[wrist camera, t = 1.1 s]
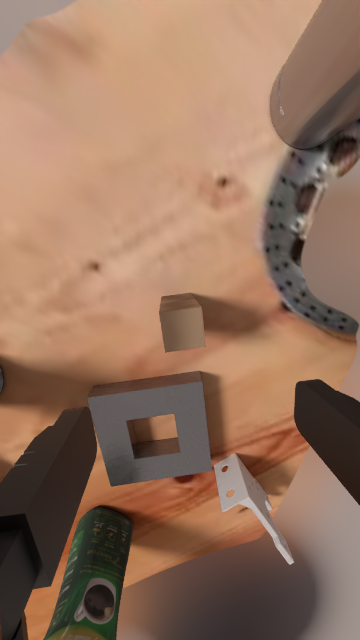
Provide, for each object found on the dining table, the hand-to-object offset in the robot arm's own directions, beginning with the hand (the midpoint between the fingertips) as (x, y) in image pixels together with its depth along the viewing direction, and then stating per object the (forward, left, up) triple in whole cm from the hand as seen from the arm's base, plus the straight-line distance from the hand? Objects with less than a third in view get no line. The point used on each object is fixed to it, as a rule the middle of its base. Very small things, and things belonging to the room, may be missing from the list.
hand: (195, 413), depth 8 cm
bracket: (-7, +33, -23) cm, 40 cm away
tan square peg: (0, +1, -23) cm, 23 cm away
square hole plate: (+6, +19, -23) cm, 30 cm away
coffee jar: (+18, +39, -23) cm, 48 cm away
